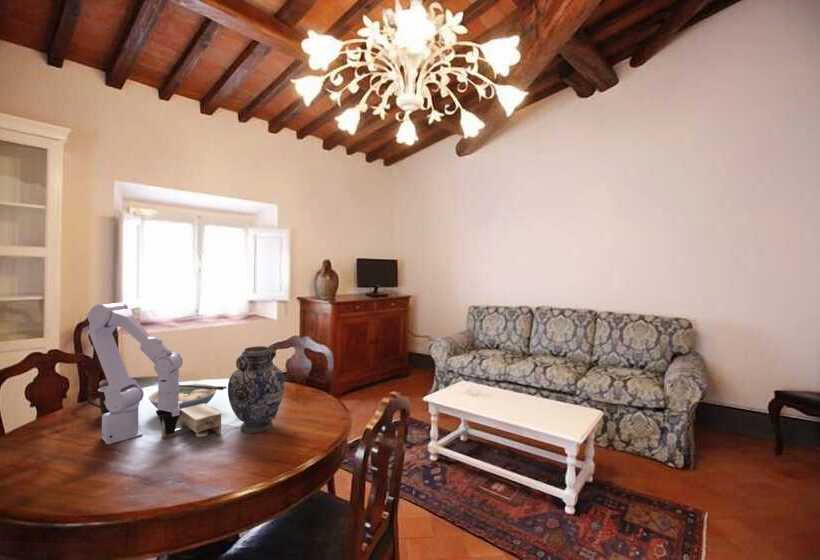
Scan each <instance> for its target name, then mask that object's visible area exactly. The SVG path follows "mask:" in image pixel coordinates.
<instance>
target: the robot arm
mask: <svg viewBox="0 0 820 560" xmlns="http://www.w3.org/2000/svg"><path fill="white" fill-rule="evenodd" d="M86 318H87V320H88V322H89V332H88V333H89V336H90V339H91V342H92V345H93V348H94V351H95V353H96V355H97V358H98V360H99V362H100V365H101V369H102V370H103V373H104V375H105V378H106V382H107V384H108V385H107V386H108V387H107V389H106V390H105V392H104V394H105V398H106V400H105V406H106V408H107V409H108V410H109V411H110V412H108V413H105V414H103V415H102V414H101V435H100V436H101V439H102V440H103V441H104V443H105V444H106V445H111V444H115V443H117V442H118V443H119V442H121V441H125V440H129V439H133V438H137V437H141V436H143V433H142V432H141V430H140V429H139V406H140V402H141V401H142V400H143V399H144V395H145V394H144V389H143V388H142V387H141V386H140V385H139V384H138V382H137V380H136V379H133V378H132V377H130V376H129V374H128V371H127V369H126V366H125V363H124V361H123V358H122V355H121V353H120V350H119V347H118V345H117V342H116V339H115V337H114V335H113V333H114V332H115V330H116V328H117V327H118V328H122V329H124V331H126V332H127V333H128V334H129V335H130V336H131V337H132V338H133V339H135V340H136V341H137V342H138V343H139V344H140V347H139V349H140V351H141V352H142V353H143V354H144V355H145V356H146V357H147V358H148V359H149V361H151V362H152V363H153V364H154V365H153V369H154V371H155V373H156V374H157V380H158V385H157V387H158V389H157V391H158V409H159V410H158V409H156V410H155V414H156V415H157V417H158V418H159V422H160V425H161V426H160V427H162V419H163V421H164V425H165V431H166V434H167V435H168V434H172V433H174V431H175V429H177V424H178V420H180V415H181V411H180V409H179V405H181V404H183V402H182V401H179V385H180V373H179V372H180V368H181V367H182V366H183V357H182V356H181V355H180V354H179V353H177V352H173V351H172V350H170V349H169V348H168V347H167V346H166V345H165V344H164V342H163V340H162V338H159V337H157V336H151V335H150V334H149V333H148V331H147V330H146V329H145V328H144V327H143V325H142V324H141V322H139V321H138V320H137V319H136V317H135V316H134V313H133V310H132V309H130V308H129V306H128V305H127V304H125V302H121V301H119V302H114V303H107V304H96V305H94V306H92V307H91V309H90V310H89V311H88V313H87V315H86ZM121 389H123V390H121Z"/></svg>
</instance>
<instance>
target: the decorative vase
mask: <svg viewBox="0 0 820 560" xmlns="http://www.w3.org/2000/svg"><path fill="white" fill-rule="evenodd" d="M276 354H277V349H276V347H275V345H274V344H269V345H268V346H262V345H261V346H260V345H259V346H250V347H246V348H244V351H242V353H241V355H240V356H238V357H237V358H236V362H235V366H236V368H237V369H236V370H235V371H233V372H232V374H231V375H230V377H229V380H228V383H227V396H228V402H229V404H230V408H231V409H232V412H233V414H234V415H235V416H236V417H237V419H238V420H240V421H241V422H243V423H242V424H241V425H240V428H239V429H240V431H241V432H243V433H248V434H254V433H255V434H256V433H261V432H265V431H268V430H269V429H270V428H272V426H273V421H272V420H275V419H276V416H277V413H278V411H279V408H280V406H281V403H282V400H283V397H284V392H285V377H284V374H283V372H282V371H281V369H280V368H278V367H277V366H276V365H275V364H274V362H273V359H275V357H276Z"/></svg>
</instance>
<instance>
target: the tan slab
mask: <svg viewBox="0 0 820 560" xmlns="http://www.w3.org/2000/svg"><path fill="white" fill-rule="evenodd" d="M180 411H181V415H180V417H179V428H181V427H185V426H188V427H189V428H190V429H192V430H191V431H193V432H194V433H196V432H198V431H202V430H205V429H206V430H209V429H210V430H211V431H213V432H214V433H215V434H217V435H221V434H222V412H220V411H218V410H217V409H215V408H213V407H212V406H210V405H208V403H207V404H205V403H204V404H199V405H195V406H191V407H187V408H182V409H180Z"/></svg>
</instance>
